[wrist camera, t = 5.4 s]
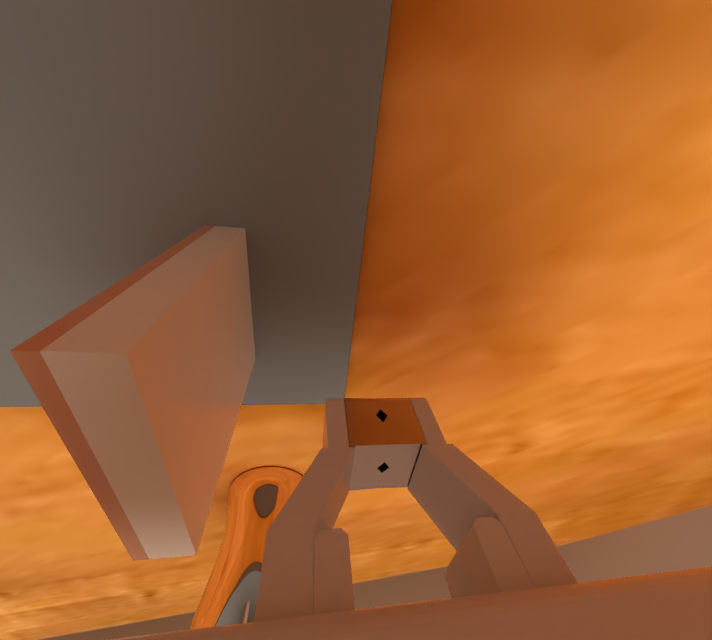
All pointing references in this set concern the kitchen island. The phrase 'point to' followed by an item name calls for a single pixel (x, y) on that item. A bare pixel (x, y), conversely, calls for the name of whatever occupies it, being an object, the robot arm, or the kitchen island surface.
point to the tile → (153, 387)
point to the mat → (191, 163)
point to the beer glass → (244, 546)
